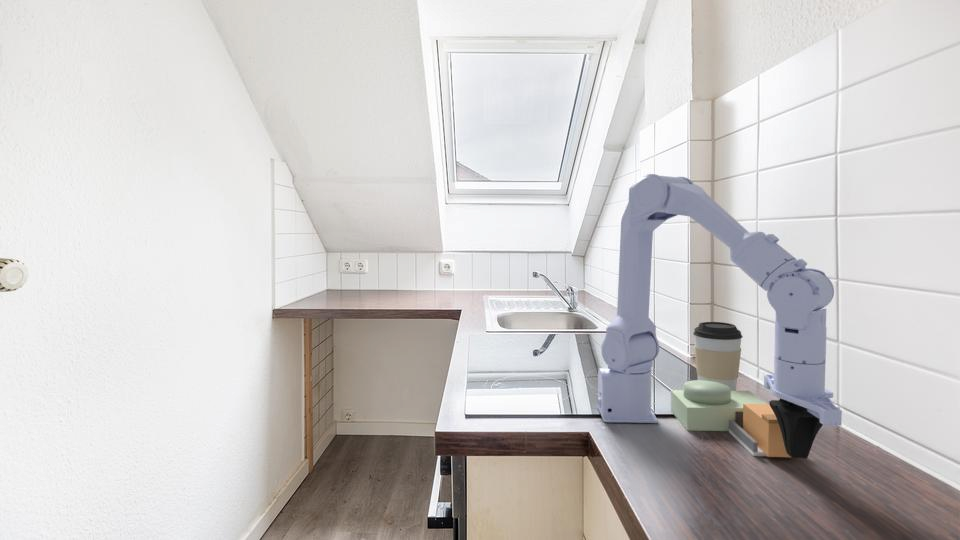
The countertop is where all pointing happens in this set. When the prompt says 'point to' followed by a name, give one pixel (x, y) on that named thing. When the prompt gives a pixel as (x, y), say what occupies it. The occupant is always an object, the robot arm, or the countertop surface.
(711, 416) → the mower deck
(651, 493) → the countertop surface
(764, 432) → the orange stepped block
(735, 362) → the coffee cup
